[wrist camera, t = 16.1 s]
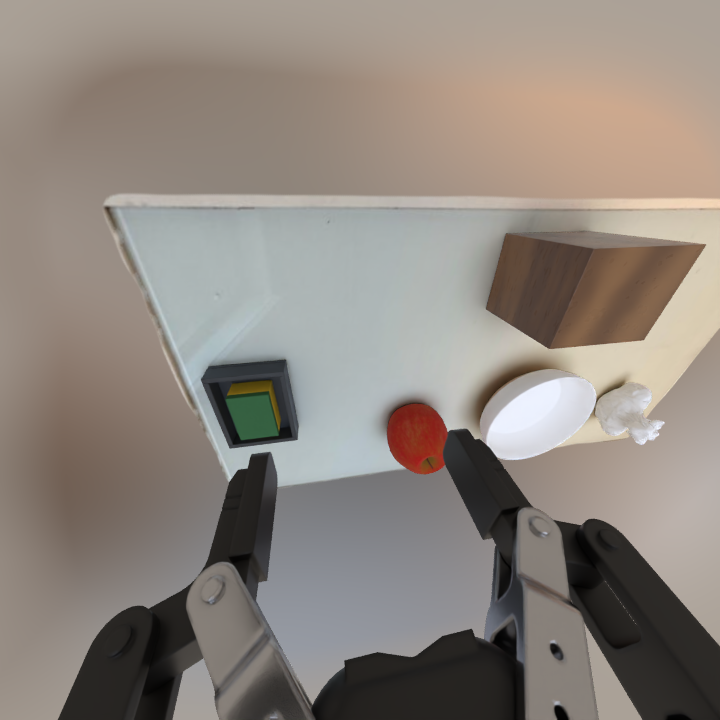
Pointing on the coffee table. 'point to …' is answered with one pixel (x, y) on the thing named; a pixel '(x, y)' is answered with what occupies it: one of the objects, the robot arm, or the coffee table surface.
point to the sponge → (254, 409)
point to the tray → (224, 376)
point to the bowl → (536, 413)
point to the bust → (627, 412)
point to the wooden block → (587, 285)
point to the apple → (417, 438)
